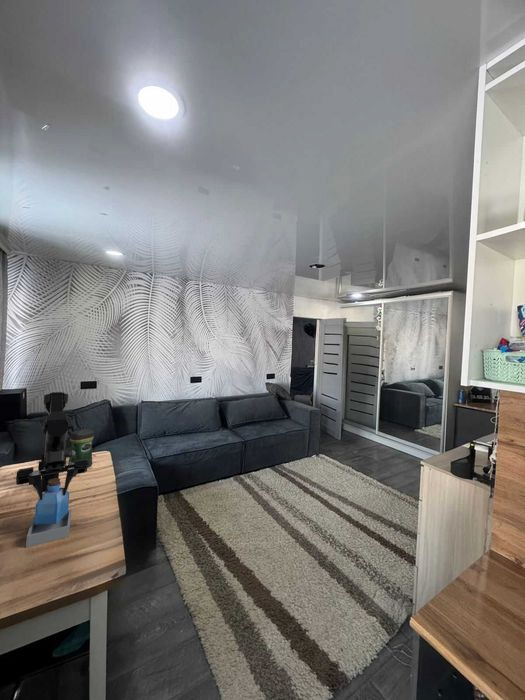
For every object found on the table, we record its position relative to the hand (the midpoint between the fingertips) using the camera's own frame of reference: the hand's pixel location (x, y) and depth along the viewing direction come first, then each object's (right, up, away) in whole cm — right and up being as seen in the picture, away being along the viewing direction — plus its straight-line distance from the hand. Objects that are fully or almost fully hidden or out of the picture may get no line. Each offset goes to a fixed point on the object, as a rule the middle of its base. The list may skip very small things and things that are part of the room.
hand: (53, 497), depth 85 cm
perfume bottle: (-1, -7, +1) cm, 8 cm away
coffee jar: (-23, -11, +46) cm, 53 cm away
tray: (-1, -11, +1) cm, 12 cm away
